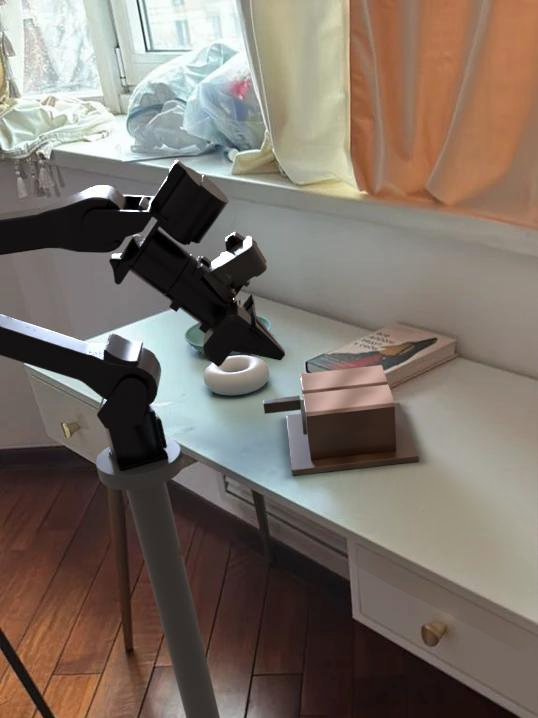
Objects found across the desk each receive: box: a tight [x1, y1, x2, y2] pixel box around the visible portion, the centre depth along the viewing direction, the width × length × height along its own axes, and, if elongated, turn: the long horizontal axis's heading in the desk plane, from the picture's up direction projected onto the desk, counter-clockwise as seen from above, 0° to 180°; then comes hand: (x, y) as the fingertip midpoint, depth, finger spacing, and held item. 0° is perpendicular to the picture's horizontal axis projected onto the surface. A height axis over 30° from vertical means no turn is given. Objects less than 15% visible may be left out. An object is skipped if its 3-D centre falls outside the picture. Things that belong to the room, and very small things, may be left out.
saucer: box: [183, 315, 273, 357], centre depth 143 cm, size 15×15×3 cm
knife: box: [262, 395, 307, 435], centre depth 110 cm, size 16×1×5 cm, turn 95°
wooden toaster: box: [286, 364, 420, 476], centre depth 111 cm, size 16×16×7 cm
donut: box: [203, 354, 270, 396], centre depth 129 cm, size 10×4×10 cm
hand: (283, 356), depth 105 cm, fingers closed
